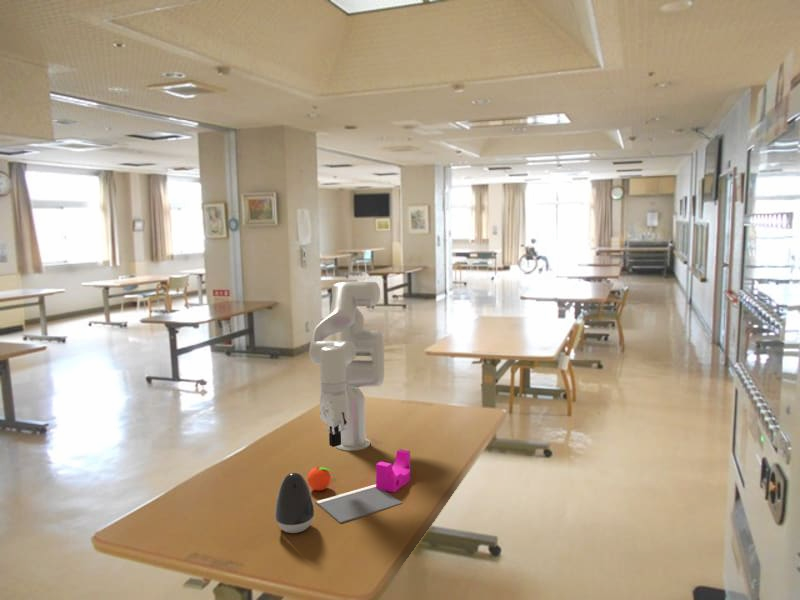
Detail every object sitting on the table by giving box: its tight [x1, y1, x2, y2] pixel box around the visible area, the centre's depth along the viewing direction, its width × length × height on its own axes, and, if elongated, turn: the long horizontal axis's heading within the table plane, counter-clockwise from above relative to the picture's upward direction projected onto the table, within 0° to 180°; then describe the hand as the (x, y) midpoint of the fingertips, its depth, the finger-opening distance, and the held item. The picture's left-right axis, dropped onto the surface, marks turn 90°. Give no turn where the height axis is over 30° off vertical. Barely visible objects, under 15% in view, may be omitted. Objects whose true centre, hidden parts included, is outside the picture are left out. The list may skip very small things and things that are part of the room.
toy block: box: [375, 449, 411, 493], centre depth 185 cm, size 15×6×8 cm, turn 152°
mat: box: [315, 483, 403, 524], centre depth 172 cm, size 15×20×1 cm
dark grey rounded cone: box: [274, 471, 315, 534], centre depth 157 cm, size 10×10×15 cm
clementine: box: [307, 466, 334, 492], centre depth 181 cm, size 8×7×7 cm
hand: (335, 445), depth 182 cm, fingers closed
